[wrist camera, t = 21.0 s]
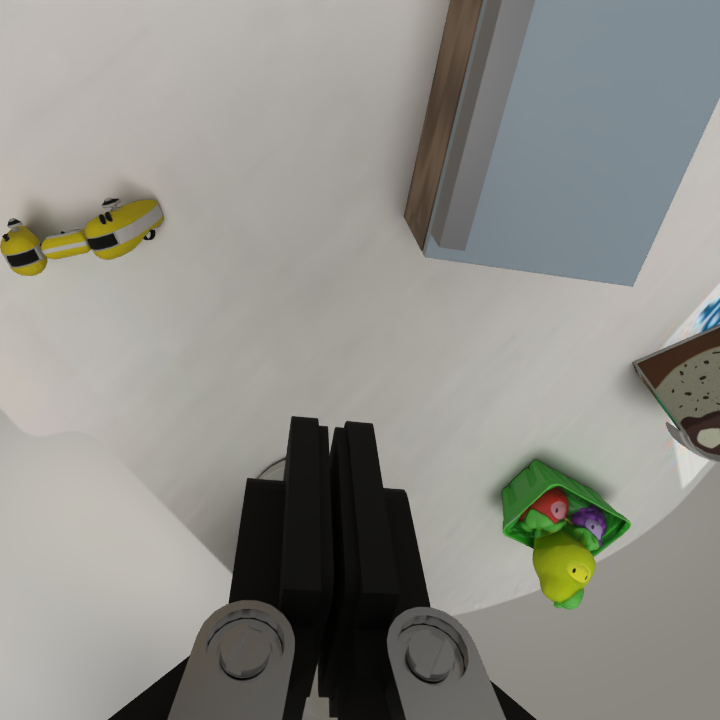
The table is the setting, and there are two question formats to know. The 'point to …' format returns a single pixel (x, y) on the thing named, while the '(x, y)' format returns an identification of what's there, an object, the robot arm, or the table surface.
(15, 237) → the game controller
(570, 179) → the lid
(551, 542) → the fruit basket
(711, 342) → the food container
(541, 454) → the table surface
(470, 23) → the housing
